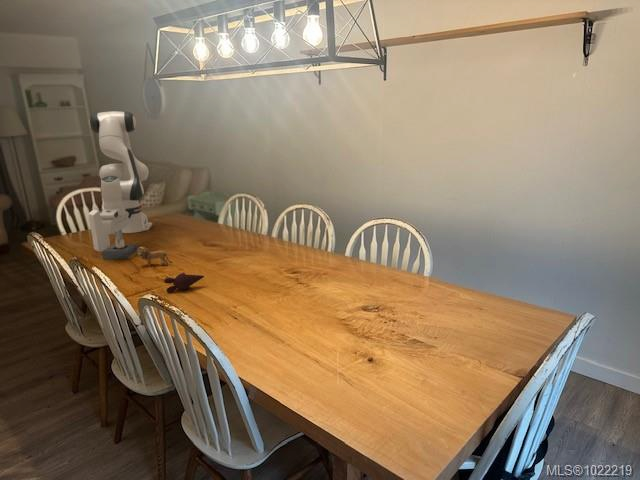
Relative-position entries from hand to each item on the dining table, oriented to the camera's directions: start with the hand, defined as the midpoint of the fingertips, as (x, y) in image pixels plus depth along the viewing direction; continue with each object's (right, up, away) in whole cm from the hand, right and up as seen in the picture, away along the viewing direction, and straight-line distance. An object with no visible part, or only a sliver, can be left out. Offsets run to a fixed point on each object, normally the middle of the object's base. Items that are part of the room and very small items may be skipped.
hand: (118, 239), depth 219 cm
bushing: (0, -8, +2) cm, 8 cm away
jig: (0, -8, +2) cm, 8 cm away
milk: (-14, -5, +12) cm, 19 cm away
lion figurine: (+22, -12, -13) cm, 28 cm away
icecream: (+44, -20, -41) cm, 63 cm away
